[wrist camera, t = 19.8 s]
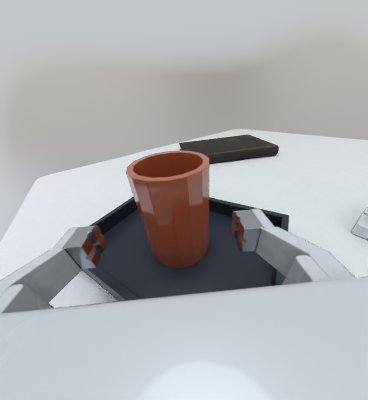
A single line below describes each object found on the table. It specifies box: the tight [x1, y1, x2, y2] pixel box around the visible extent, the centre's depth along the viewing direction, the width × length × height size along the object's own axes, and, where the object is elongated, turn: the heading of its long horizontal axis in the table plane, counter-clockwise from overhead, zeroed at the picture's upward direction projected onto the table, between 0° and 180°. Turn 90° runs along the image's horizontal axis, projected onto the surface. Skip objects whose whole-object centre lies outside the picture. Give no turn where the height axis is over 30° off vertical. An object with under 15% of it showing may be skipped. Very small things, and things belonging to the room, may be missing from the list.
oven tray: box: [82, 197, 289, 301], centre depth 16 cm, size 19×14×2 cm
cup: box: [126, 151, 209, 268], centre depth 14 cm, size 6×6×9 cm
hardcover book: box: [179, 135, 279, 163], centre depth 43 cm, size 16×23×2 cm
